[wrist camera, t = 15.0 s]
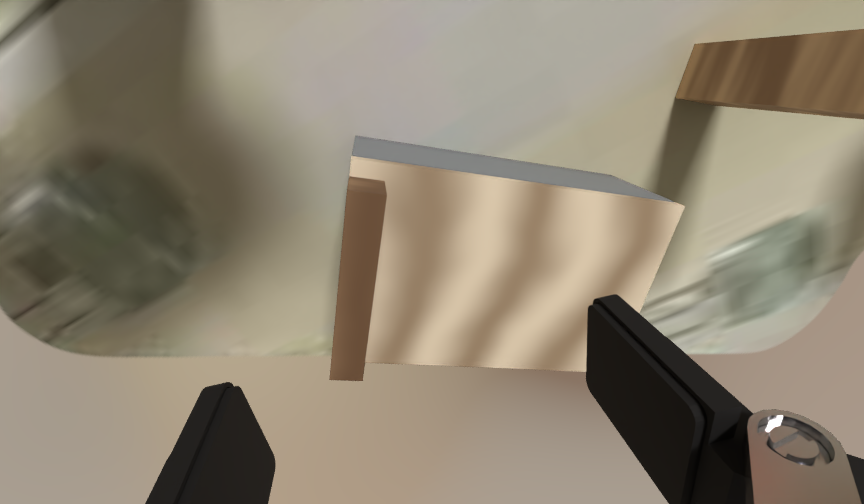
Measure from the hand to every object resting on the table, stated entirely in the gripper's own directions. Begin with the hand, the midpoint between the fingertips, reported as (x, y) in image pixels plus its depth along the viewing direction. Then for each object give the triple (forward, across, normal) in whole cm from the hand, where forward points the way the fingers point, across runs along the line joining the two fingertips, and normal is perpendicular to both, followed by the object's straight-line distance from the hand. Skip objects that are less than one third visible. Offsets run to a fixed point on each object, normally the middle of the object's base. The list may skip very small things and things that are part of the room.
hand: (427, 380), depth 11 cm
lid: (+15, -7, +7) cm, 18 cm away
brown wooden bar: (+24, -27, -3) cm, 36 cm away
